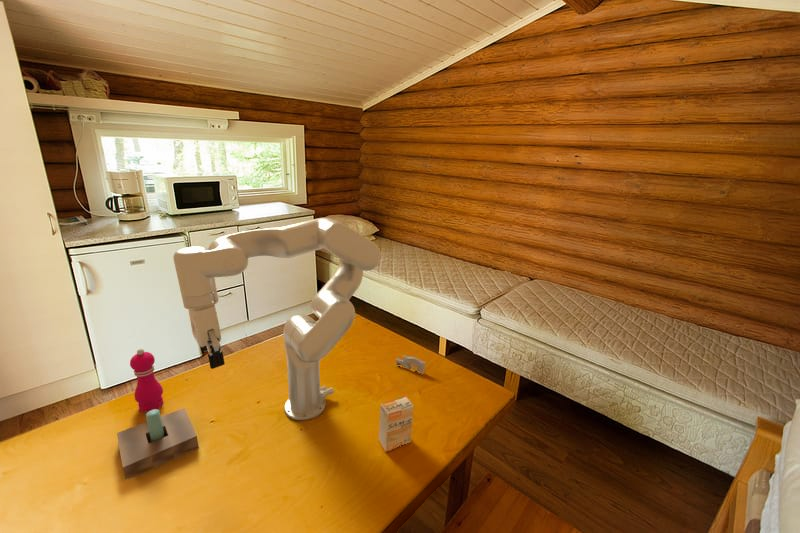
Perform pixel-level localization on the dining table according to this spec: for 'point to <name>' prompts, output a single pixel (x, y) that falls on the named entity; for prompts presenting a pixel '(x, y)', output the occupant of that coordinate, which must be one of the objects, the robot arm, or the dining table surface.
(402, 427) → the supplement box
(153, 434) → the teal peg
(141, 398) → the pepper mill
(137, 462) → the walnut hole block
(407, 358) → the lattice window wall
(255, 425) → the dining table surface
